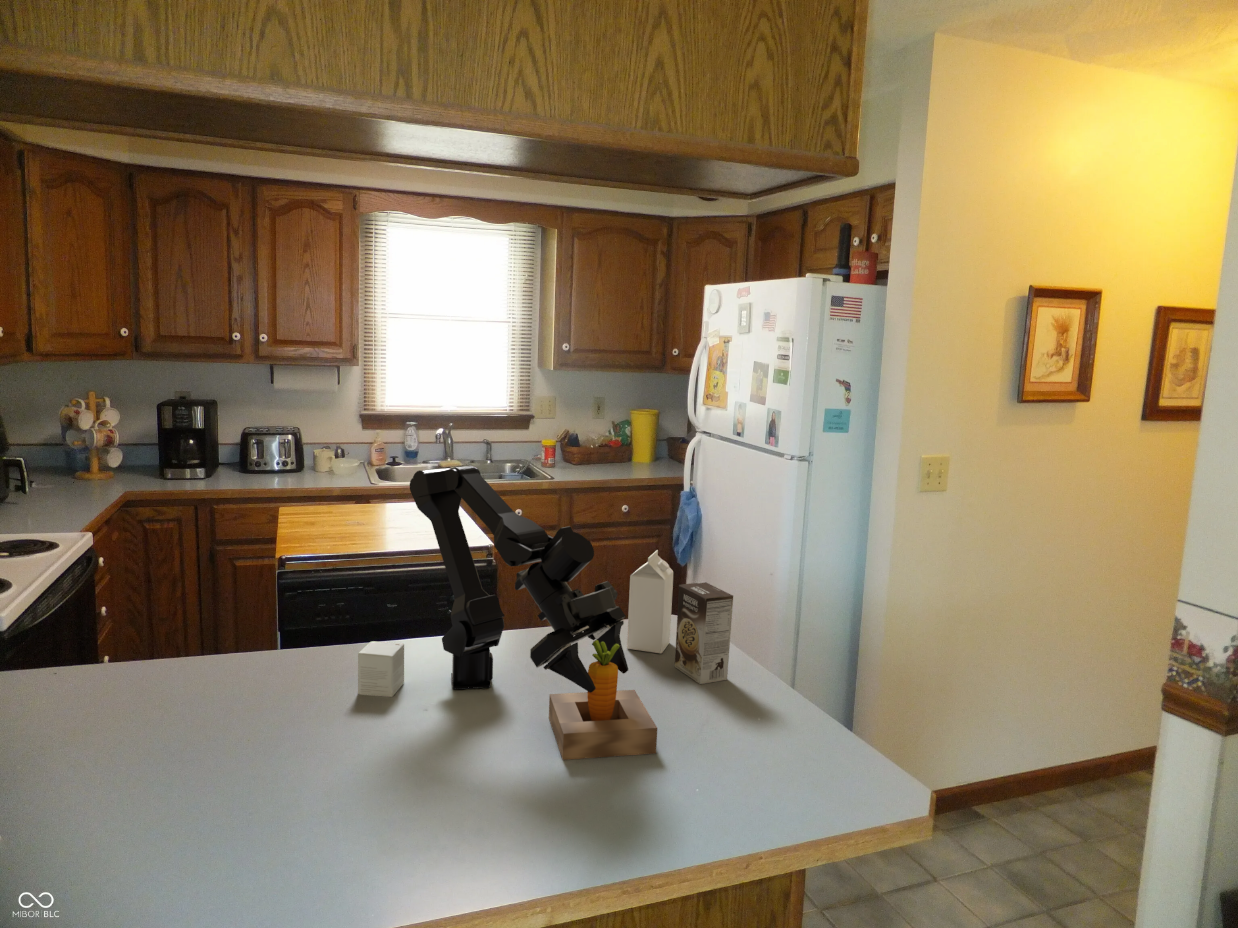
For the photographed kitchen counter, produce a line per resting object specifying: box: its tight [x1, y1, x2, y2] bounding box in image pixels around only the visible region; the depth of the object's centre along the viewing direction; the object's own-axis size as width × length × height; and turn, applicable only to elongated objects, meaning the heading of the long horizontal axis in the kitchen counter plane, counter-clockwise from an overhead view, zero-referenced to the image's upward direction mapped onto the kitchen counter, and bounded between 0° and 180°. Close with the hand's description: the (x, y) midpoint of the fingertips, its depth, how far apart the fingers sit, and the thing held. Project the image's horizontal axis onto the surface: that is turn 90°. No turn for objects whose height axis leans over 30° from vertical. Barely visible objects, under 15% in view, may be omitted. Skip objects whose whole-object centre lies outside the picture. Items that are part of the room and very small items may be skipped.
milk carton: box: [626, 549, 674, 654], centre depth 170 cm, size 7×7×19 cm
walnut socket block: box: [548, 689, 658, 761], centre depth 132 cm, size 14×14×4 cm
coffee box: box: [674, 582, 734, 685], centre depth 157 cm, size 9×6×16 cm
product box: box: [357, 640, 405, 698], centre depth 145 cm, size 6×6×7 cm
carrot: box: [587, 639, 620, 721], centre depth 131 cm, size 5×5×15 cm
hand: (610, 681), depth 130 cm, fingers open, 9 cm apart
